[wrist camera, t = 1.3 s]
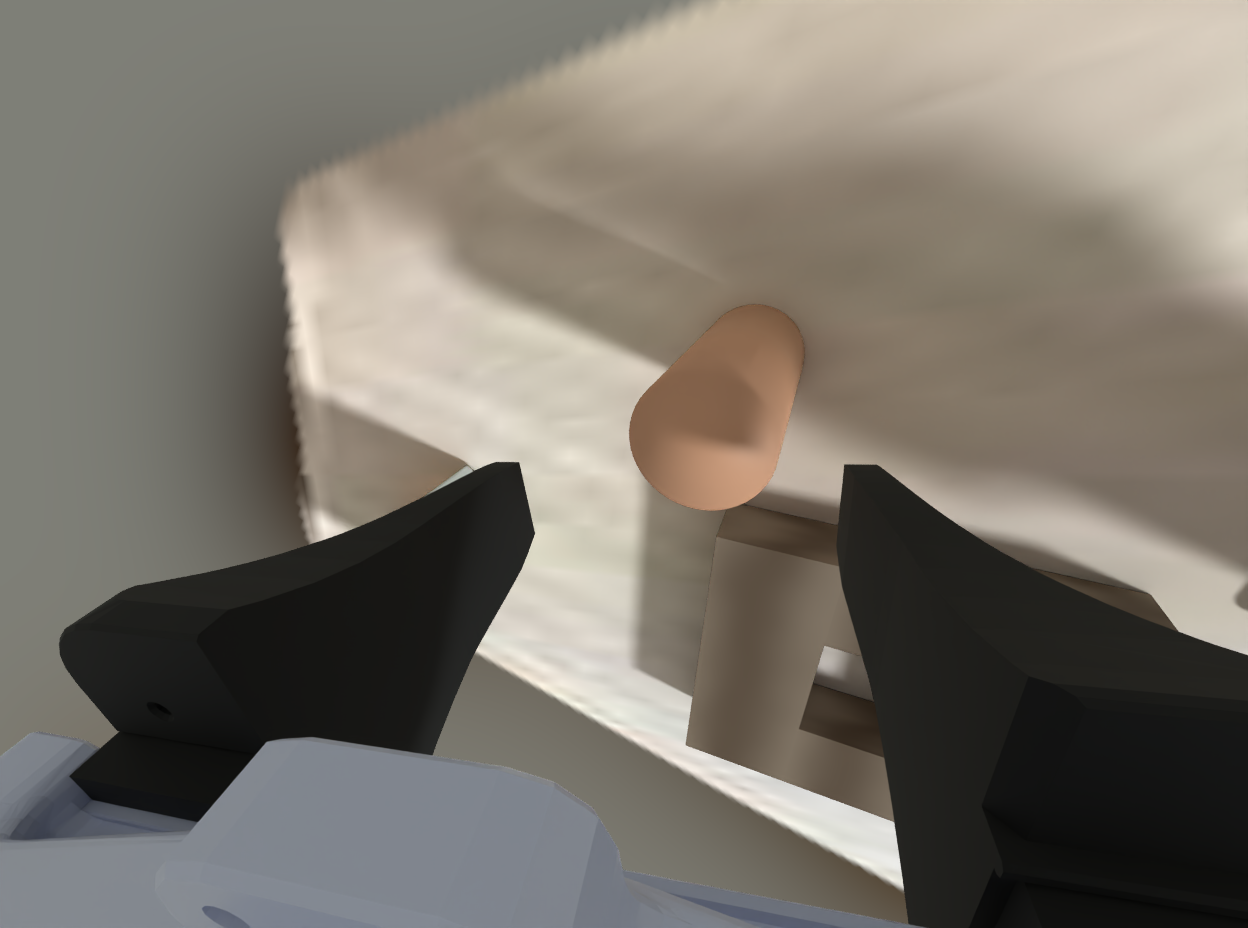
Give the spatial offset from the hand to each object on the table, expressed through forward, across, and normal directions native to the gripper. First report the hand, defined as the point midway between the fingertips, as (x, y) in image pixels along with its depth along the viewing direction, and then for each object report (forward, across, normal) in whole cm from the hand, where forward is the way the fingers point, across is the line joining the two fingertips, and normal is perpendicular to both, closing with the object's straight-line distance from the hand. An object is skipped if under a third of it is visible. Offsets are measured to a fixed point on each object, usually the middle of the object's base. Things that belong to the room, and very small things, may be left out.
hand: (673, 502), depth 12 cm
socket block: (+10, -8, +15) cm, 20 cm away
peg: (+12, -2, 0) cm, 12 cm away
